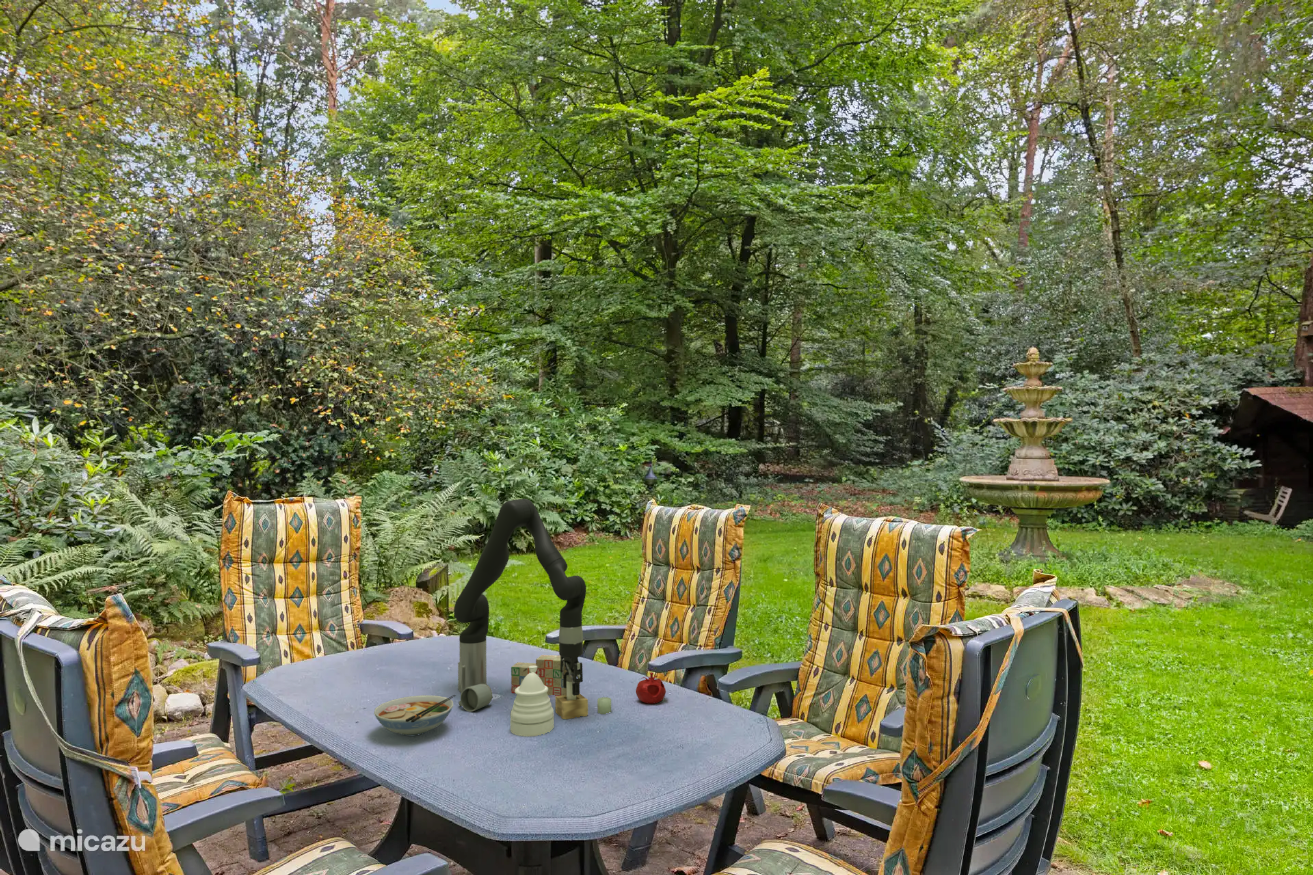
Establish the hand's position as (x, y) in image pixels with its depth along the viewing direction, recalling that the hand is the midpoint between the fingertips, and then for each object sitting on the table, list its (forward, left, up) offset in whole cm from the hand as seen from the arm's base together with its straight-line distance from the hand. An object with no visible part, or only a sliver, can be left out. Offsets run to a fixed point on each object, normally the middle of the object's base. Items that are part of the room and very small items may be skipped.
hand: (571, 691), depth 245 cm
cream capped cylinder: (0, 0, -7) cm, 7 cm away
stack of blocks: (-1, +26, -8) cm, 27 cm away
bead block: (0, 0, -7) cm, 7 cm away
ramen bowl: (-47, +7, -7) cm, 48 cm away
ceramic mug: (-26, +21, -7) cm, 34 cm away
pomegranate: (+28, 0, -7) cm, 29 cm away
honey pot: (-15, -7, -7) cm, 18 cm away
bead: (+10, -3, -7) cm, 13 cm away
